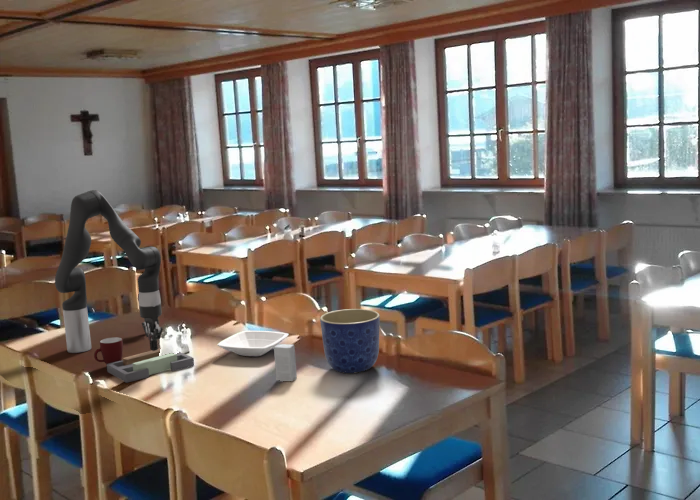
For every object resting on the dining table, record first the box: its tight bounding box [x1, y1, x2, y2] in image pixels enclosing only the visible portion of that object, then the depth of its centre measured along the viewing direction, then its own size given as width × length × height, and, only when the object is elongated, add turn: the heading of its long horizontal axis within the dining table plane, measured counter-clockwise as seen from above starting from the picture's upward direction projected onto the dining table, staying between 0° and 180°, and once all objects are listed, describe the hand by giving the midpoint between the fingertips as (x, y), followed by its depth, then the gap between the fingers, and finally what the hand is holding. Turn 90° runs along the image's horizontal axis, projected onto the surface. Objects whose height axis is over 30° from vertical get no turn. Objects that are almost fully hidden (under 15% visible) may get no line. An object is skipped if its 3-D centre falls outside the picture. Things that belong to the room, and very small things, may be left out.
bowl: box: [216, 330, 289, 357], centre depth 311 cm, size 22×23×6 cm
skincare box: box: [273, 343, 298, 382], centre depth 277 cm, size 6×4×12 cm
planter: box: [319, 308, 381, 374], centre depth 285 cm, size 21×21×19 cm
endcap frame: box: [106, 351, 195, 384], centre depth 299 cm, size 18×26×3 cm
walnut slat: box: [122, 347, 162, 366], centre depth 302 cm, size 4×16×5 cm, turn 134°
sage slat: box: [133, 353, 177, 376], centre depth 295 cm, size 4×16×5 cm, turn 134°
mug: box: [93, 336, 124, 366], centre depth 303 cm, size 11×8×10 cm
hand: (154, 350), depth 294 cm, fingers closed
